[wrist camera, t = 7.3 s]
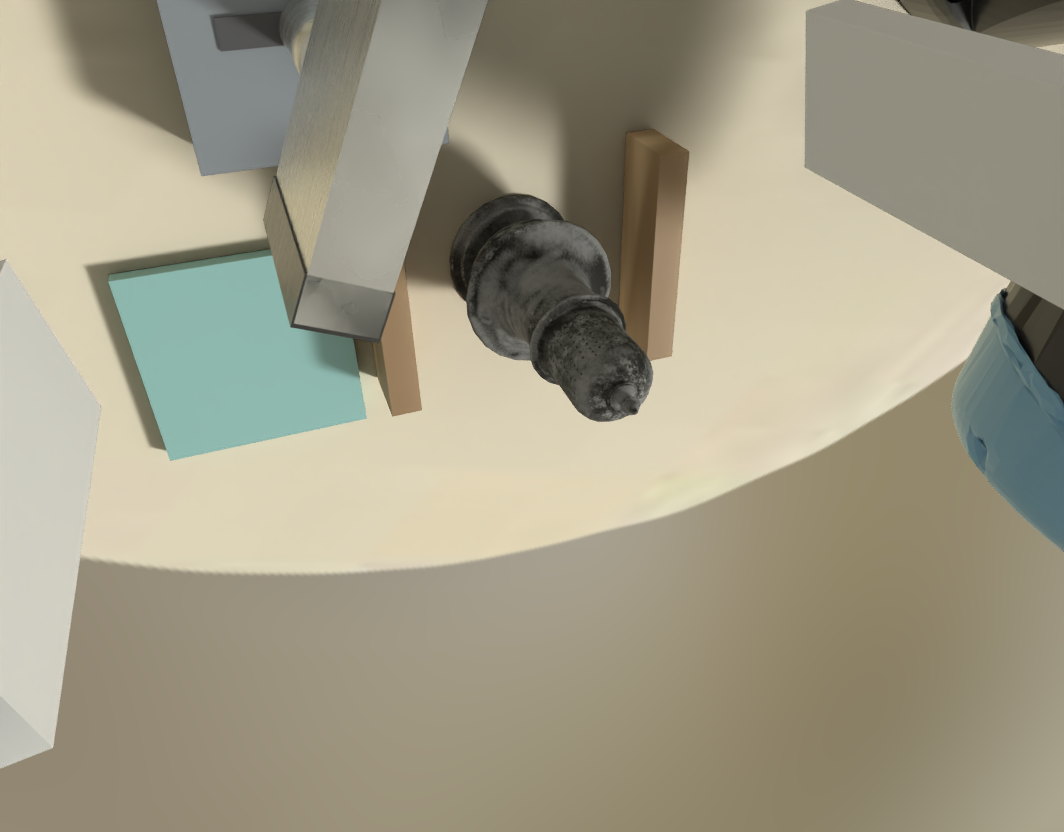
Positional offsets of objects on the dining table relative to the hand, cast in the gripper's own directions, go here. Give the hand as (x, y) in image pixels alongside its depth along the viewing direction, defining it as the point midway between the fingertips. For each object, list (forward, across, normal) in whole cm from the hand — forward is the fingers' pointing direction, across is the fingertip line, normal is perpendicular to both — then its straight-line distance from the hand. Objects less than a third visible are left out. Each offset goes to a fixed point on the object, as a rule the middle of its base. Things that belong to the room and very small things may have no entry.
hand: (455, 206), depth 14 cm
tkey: (+14, -1, 0) cm, 14 cm away
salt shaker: (+18, +4, -11) cm, 22 cm away
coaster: (+18, -7, -11) cm, 22 cm away
